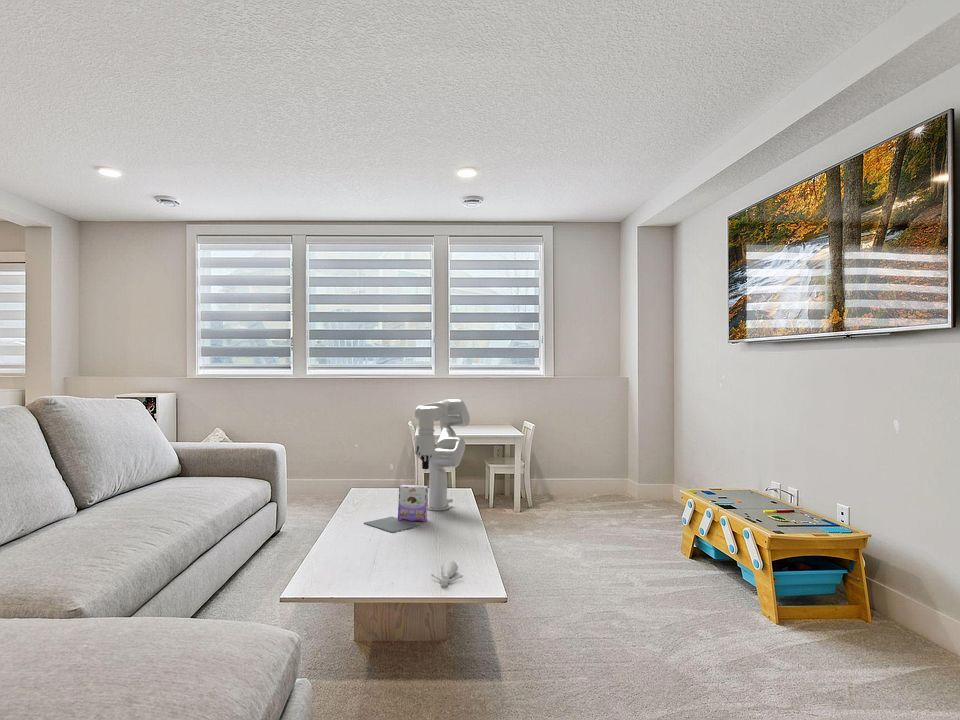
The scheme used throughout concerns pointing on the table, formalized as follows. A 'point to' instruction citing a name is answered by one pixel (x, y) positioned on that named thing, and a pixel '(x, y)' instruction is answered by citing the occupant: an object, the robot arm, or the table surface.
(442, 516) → the table surface
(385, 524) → the mat
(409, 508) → the candy box
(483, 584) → the table surface
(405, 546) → the table surface
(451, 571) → the grey legged figure
